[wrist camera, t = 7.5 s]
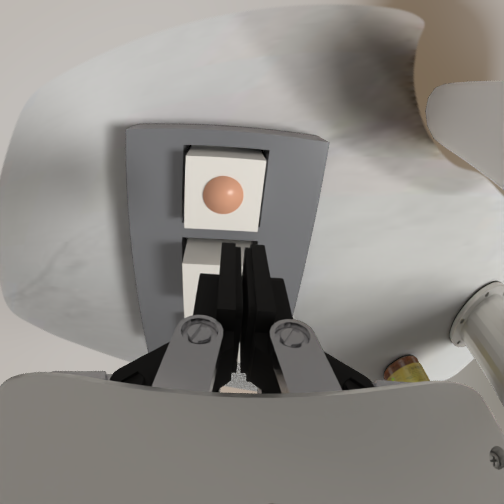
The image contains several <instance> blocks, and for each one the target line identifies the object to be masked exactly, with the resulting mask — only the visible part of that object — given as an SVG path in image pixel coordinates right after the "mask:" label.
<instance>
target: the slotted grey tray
mask: <svg viewBox="0 0 504 504" xmlns="http://www.w3.org/2000/svg"><path fill="white" fill-rule="evenodd" d="M189 145H206V146H225V147H239V148H252V149H263V150H264V151H263V156H264V157H265V159H266V168H265V176H264V184H263V192H262V200H261V208H260V216H259V224H258V232H250V231H232V230H213V229H193V228H184V204H185V165H186V155H187V153H188V146H189ZM328 149H329V142H328V141H326V140H324V139H322V138H320V137H318V136H315V135H308V134H301V133H294V132H286V131H278V130H269V129H259V128H248V127H236V126H221V125H201V124H137V125H135V126H132V127H130V128H127V129H126V177H127V198H128V213H129V226H130V237H131V247H132V256H133V264H134V272H135V279H136V286H137V293H138V300H139V306H140V312H141V318H142V323H143V329H144V334H145V339H146V344H147V349H148V353H150V352H151V351H153V350H155V349H157V348H159V347H161V346H162V345H164V344H166V343H168V342H170V341H171V338H172V336H173V333H174V331H175V329H176V326H177V325H178V323H179V322H180V321H181V320H183V319H184V300H183V273H182V262H183V258H184V253H185V249H186V237H188V238H209V239H228V240H247V241H253V243H252V244H257V245H265V249H266V255H267V261H268V266H269V272H270V277H271V278H283V279H284V283H285V287H286V291H287V295H288V300H289V304H290V308H291V313H292V316H293V312H294V308H295V304H296V300H297V296H298V292H299V288H300V284H301V280H302V276H303V271H304V267H305V263H306V258H307V254H308V249H309V245H310V240H311V236H312V231H313V227H314V222H315V217H316V212H317V207H318V202H319V197H320V192H321V187H322V182H323V176H324V171H325V166H326V160H327V154H328Z"/></svg>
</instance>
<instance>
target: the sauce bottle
mask: <svg viewBox="0 0 504 504" xmlns="http://www.w3.org/2000/svg"><path fill="white" fill-rule="evenodd" d="M384 379H385V380H386V381H399V382H422V381H430V380H429V378H428V376H427V374H426V373H425V371H424V369H423V367H422V365H421V364H420V363H419V361H418V359H417V358H416V357H415V356H405V357H401V358H400V359H398V360H396V361H395V362H393V363H392V364H390V365H389V366H388V368H387V369H386V371H385V373H384Z"/></svg>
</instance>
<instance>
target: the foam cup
mask: <svg viewBox="0 0 504 504" xmlns="http://www.w3.org/2000/svg"><path fill="white" fill-rule="evenodd" d="M425 112H426V119H427V126H428V128H429V130H430V132H431V134H432V136H433V138H434V139H435V140H436V141H438V142H439V143H440V144H441V145H442V146H444V147H445V148H447V149H448V150H450V151H451V152H453V153H454V154H456V155H457V156H459V157H460V158H462V159H463V160H465V161H466V162H468V163H469V164H470V165H472V166H474V167H475V168H476V169H477V170H479V171H480V172H481V173H483V174H484V175H485V176H487V177H488V178H489V179H491V180H492V181H493V182H494V183H496V184H497V185H498V186H499V187H501V188H502V189H503V190H504V81H476V82H475V81H474V82H458V83H449V84H443V85H441V86H438V87H436V88H435V89H434V90H433V92H432V93H431V95H430V96H429V97H428V102H427V106H426V111H425Z"/></svg>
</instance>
